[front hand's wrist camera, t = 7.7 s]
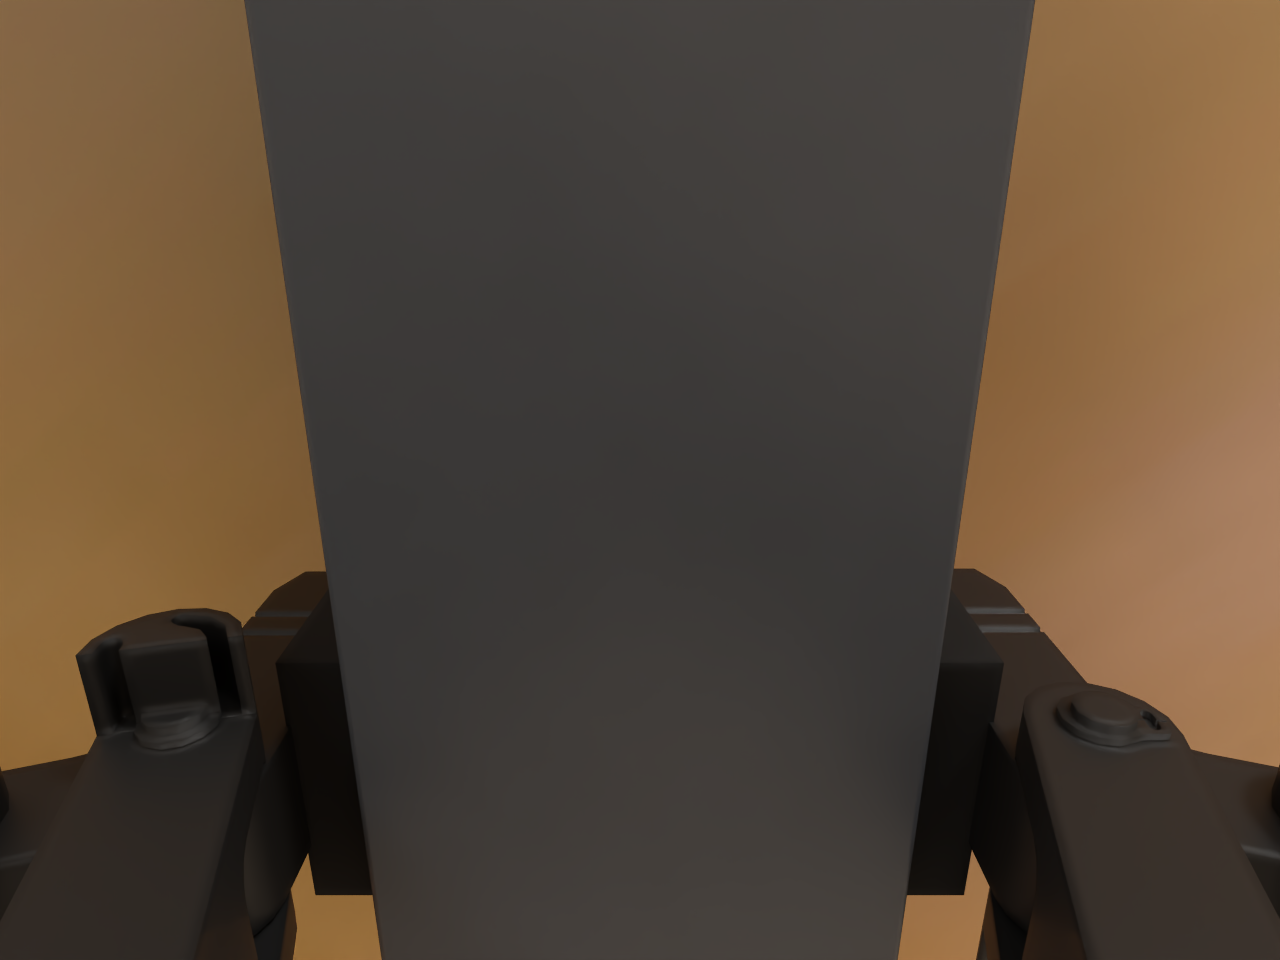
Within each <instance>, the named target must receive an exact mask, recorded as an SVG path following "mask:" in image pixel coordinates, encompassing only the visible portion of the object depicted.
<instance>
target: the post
mask: <svg viewBox="0 0 1280 960" xmlns="http://www.w3.org/2000/svg"><path fill="white" fill-rule="evenodd" d="M1034 4H1035V0H245V7H246V14H247V21H248V28H249V35H250V42H251V49H252V56H253V63H254V70H255V77H256V84H257V91H258V98H259V105H260V112H261V119H262V126H263V133H264V140H265V147H266V154H267V161H268V168H269V175H270V182H271V189H272V196H273V203H274V210H275V217H276V224H277V231H278V238H279V245H280V252H281V259H282V266H283V273H284V280H285V287H286V294H287V301H288V308H289V315H290V322H291V329H292V336H293V343H294V350H295V357H296V364H297V370H298V377H299V384H300V391H301V398H302V405H303V412H304V419H305V426H306V433H307V440H308V447H309V454H310V461H311V468H312V475H313V482H314V489H315V496H316V503H317V510H318V517H319V524H320V531H321V538H322V545H323V552H324V559H325V566H326V573H327V580H328V587H329V594H330V601H331V608H332V615H333V622H334V629H335V636H336V643H337V650H338V657H339V664H340V671H341V678H342V685H343V692H344V699H345V706H346V713H347V720H348V727H349V734H350V741H351V748H352V755H353V762H354V769H355V776H356V782H357V789H358V796H359V803H360V810H361V817H362V824H363V831H364V838H365V845H366V852H367V859H368V866H369V873H370V880H371V887H372V894H373V901H374V908H375V915H376V922H377V929H378V936H379V943H380V950H381V957H382V960H898V953H899V946H900V939H901V932H902V925H903V918H904V911H905V904H906V897H907V890H908V883H909V876H910V869H911V862H912V855H913V848H914V841H915V834H916V827H917V820H918V813H919V806H920V799H921V792H922V785H923V778H924V771H925V764H926V757H927V750H928V743H929V736H930V729H931V722H932V715H933V708H934V701H935V695H936V688H937V681H938V674H939V667H940V660H941V653H942V646H943V639H944V632H945V625H946V618H947V611H948V604H949V597H950V590H951V583H952V576H953V569H954V562H955V555H956V548H957V541H958V534H959V527H960V520H961V513H962V506H963V499H964V492H965V485H966V478H967V471H968V464H969V457H970V450H971V443H972V436H973V429H974V422H975V415H976V408H977V401H978V394H979V387H980V380H981V373H982V367H983V360H984V353H985V346H986V339H987V332H988V325H989V318H990V311H991V304H992V297H993V290H994V283H995V276H996V269H997V262H998V255H999V248H1000V241H1001V234H1002V227H1003V220H1004V213H1005V206H1006V199H1007V192H1008V185H1009V178H1010V171H1011V164H1012V157H1013V150H1014V143H1015V136H1016V129H1017V122H1018V115H1019V108H1020V101H1021V94H1022V87H1023V80H1024V73H1025V66H1026V59H1027V52H1028V46H1029V39H1030V32H1031V25H1032V18H1033V11H1034Z"/></svg>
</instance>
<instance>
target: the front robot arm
mask: <svg viewBox="0 0 1280 960" xmlns="http://www.w3.org/2000/svg"><path fill="white" fill-rule="evenodd" d="M1024 610H1025V609H1024V608H1023V607H1022V606H1021V605H1020V603H1019V602H1018V601H1017V600H1016V599H1015V597H1014V596H1013V595H1012V594H1011V593H1010V592H1009V590H1008V589H1007V588H1006V587H1004V586H1003V585H1001V584H999V583H998V582H996V581H994V580H992V579H991V578H989V577H987V576H986V575H984V574H982V573H981V572H979V571H977V570H976V569H953V576H952V583H951V590H950V597H949V604H948V611H947V618H946V625H945V632H944V639H943V646H942V653H941V660H940V667H939V674H938V681H937V688H936V695H935V701H934V708H933V715H932V722H931V729H930V736H929V743H928V750H927V757H926V764H925V771H924V778H923V785H922V792H921V799H920V806H919V813H918V820H917V827H916V834H915V841H914V848H913V855H912V862H911V869H910V876H909V883H908V890H907V895H964V891H965V886H966V880H967V874H968V868H969V863H970V857H971V851H973V853H974V855H975V857H976V859H977V861H978V863H979V865H980V867H981V869H982V871H983V874H984V876H985V878H986V880H987V882H988V884H989V886H990V888H989V893H988V899H987V904H986V910H985V915H984V920H983V926H982V931H981V936H980V942H979V947H978V952H977V958H976V960H1280V765H1279V767H1274V766H1268V765H1263V764H1258V763H1253V762H1248V761H1243V760H1237V759H1232V758H1227V757H1222V756H1217V755H1212V754H1207V753H1203V752H1199V751H1195V750H1191V749H1190V747H1189V745H1188V743H1187V741H1186V739H1185V737H1184V735H1183V734H1182V733H1181V732H1180V731H1179V729H1178V728H1177V727H1176V726H1175V725H1174V723H1173V722H1172V721H1171V720H1170V719H1169V717H1167V716H1166V715H1164V714H1163V713H1161V712H1160V711H1158V710H1157V709H1155V708H1154V707H1152V706H1151V705H1149V704H1148V703H1146V702H1145V701H1142V700H1140V699H1137V698H1135V697H1133V696H1130V695H1128V694H1125V693H1123V692H1120V691H1118V690H1116V689H1111V688H1107V687H1102V686H1098V685H1093V684H1089V683H1087V682H1086V681H1085V680H1084V679H1083V678H1082V676H1081V675H1080V674H1079V673H1078V672H1077V671H1076V669H1075V668H1074V667H1073V666H1072V665H1071V663H1070V662H1069V661H1068V660H1067V659H1066V658H1065V656H1064V655H1063V654H1062V653H1061V652H1060V651H1059V649H1058V648H1057V647H1056V646H1055V645H1054V643H1053V642H1052V641H1051V640H1050V639H1049V638H1048V636H1047V635H1046V634H1045V633H1044V632H1040V627H1039V626H1038V625H1037V623H1036V622H1035V621H1034V620H1033V619H1032V618H1031V616H1030V615H1029V614H1025V612H1024ZM255 613H256V615H255V617H251V618H250V619H249V621H248V622H247V623H246V624H245V625H244V627H243V628H242V626H241V622H240V621H239V620H237V619H236V618H235V617H233V616H232V615H231V614H229V613H227V612H222V611H217V610H212V609H207V608H199V609H176V610H171V611H166V612H161V613H155V614H150V615H146V616H143V617H140V618H137V619H135V620H132V621H129V622H126V623H123V624H120V625H117V626H115V627H114V628H112V629H110V630H108V631H107V632H105V633H103V634H101V635H99V636H98V637H96V638H94V639H92V640H91V641H90V642H89V643H88V644H87V645H86V646H85V647H84V648H83V649H82V650H81V651H80V652H79V653H78V654H77V655H76V659H77V663H78V667H79V671H80V674H81V678H82V682H83V685H84V689H85V693H86V697H87V700H88V704H89V708H90V712H91V715H92V719H93V723H94V726H95V730H96V734H97V737H96V739H95V741H94V743H93V745H92V747H91V748H90V750H89V752H88V754H85V755H81V756H77V757H73V758H68V759H63V760H58V761H53V762H48V763H42V764H37V765H32V766H27V767H22V768H17V769H12V770H7V771H1V768H0V960H293V954H294V947H295V939H296V932H297V925H296V917H295V910H294V904H293V899H292V893H291V887H292V885H293V883H294V881H295V879H296V877H297V875H298V873H299V871H300V869H301V866H302V864H303V862H304V860H305V858H306V856H307V854H309V860H310V866H311V871H312V877H313V883H314V889H315V894H316V895H373V894H372V887H371V880H370V873H369V866H368V859H367V852H366V845H365V838H364V831H363V824H362V817H361V810H360V803H359V796H358V789H357V782H356V776H355V769H354V762H353V755H352V748H351V741H350V734H349V727H348V720H347V713H346V706H345V699H344V692H343V685H342V678H341V671H340V664H339V657H338V650H337V643H336V636H335V629H334V622H333V615H332V608H331V601H330V594H329V587H328V580H327V573H326V572H304V573H303V574H301V575H299V576H297V577H296V578H294V579H292V580H291V581H289V582H287V583H286V584H284V585H282V586H281V587H279V588H277V589H276V590H274V591H273V592H272V593H271V595H270V596H269V597H268V598H267V599H266V600H265V602H264V603H263V604H262V605H261V606H260V608H259V609H258V610H257V611H256V612H255Z"/></svg>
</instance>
